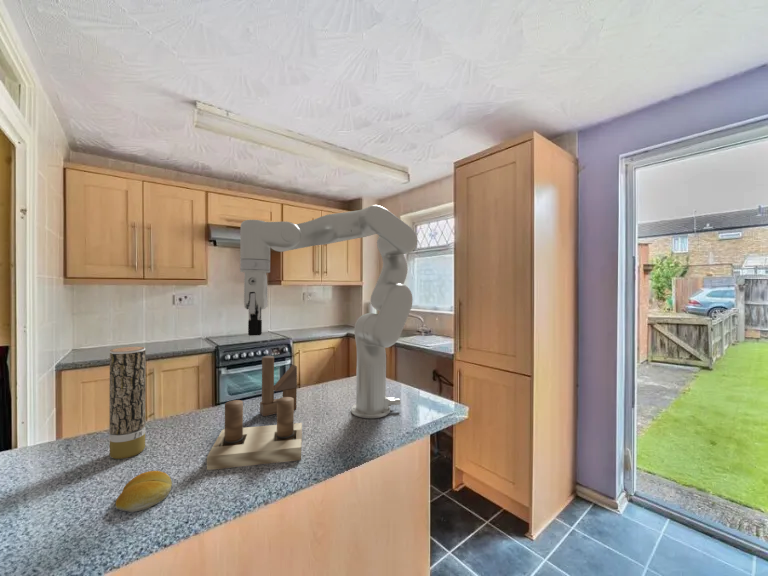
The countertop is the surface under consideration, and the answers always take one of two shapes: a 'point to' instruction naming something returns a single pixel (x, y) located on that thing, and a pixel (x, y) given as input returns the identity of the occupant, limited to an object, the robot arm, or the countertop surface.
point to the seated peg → (285, 418)
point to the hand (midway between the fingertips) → (255, 334)
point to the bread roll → (144, 491)
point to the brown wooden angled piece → (276, 386)
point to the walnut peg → (233, 423)
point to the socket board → (255, 448)
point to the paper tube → (127, 401)
